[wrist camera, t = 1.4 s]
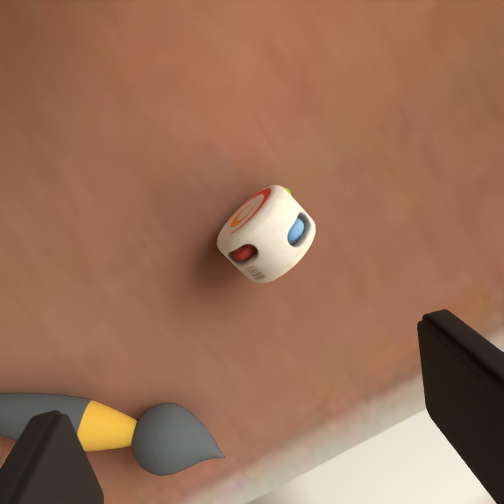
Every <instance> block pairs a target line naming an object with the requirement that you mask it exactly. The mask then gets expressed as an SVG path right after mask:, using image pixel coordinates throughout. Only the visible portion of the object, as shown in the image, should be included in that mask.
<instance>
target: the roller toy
mask: <svg viewBox="0 0 504 504" xmlns="http://www.w3.org/2000/svg"><path fill="white" fill-rule="evenodd" d="M314 236H315V223H314V221H313V220H312V219H311V217H310V216H309V215H308V214H307V213H306V212H305V211H304V210H303V208H302V207H301V206H300V205H299V204H298V203H297V202H296V201H295V200H294V199H293V197H292V196H291V193H290V191H289V190H288V189H287V188H283V187H281V186H279V185H271V186H268V187H266V188H264V189H262V190H260V191H259V192H257V193H256V194H255V195H253V196H252V197H251V198H249V199H248V200H247V201H246V202H245V203H244V204H243V205H242V206H241V207H239V208H238V209H237V211H236V212H235V213H234V214H233V215H232V216H231V217H230V218H229V220H228V221H227V222H226V224H225V225H224V226H223V228H222V229H221V231H220V233H219V235H218V238H217V246H218V249H219V250H220V251H221V252H222V254H223V255H224V256H225V257H227V258H228V259H229V260H230V261H231V262H232V263H233V264H234V265H235V266H236V267H237V268H238V269H239V270H240V271H241V272H242V273H243V274H244V275H246V276H247V277H248V278H249V279H250V280H251V281H253V282H256V283H267V282H270V281H273V280H275V279H277V278H278V277H280V276H281V275H283V274H284V273H286V272H287V271H288V270H290V269H291V268H292V267H293V266H294V265H295V264H296V263H297V262H298V261H299V260H300V259H301V258H302V257H303V256H304V254H305V253H306V252H307V250H308V249H309V247H310V245H311V243H312V241H313V239H314Z"/></svg>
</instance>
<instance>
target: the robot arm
mask: <svg viewBox="0 0 504 504" xmlns="http://www.w3.org/2000/svg"><path fill="white" fill-rule="evenodd" d="M417 330H418V339H419V348H420V357H421V366H422V376H423V385H424V394H425V403H426V408H427V411H428V413H429V415H430V417H431V419H432V420H433V421H434V423H435V424H436V425H437V427H438V428H439V429H440V430H441V432H442V433H443V434H444V436H445V437H446V438H447V440H448V441H449V442H450V443H451V445H452V446H453V447H454V449H455V450H456V451H457V452H458V454H459V455H460V456H461V458H462V459H463V460H464V461H465V463H466V464H467V466H468V467H469V468H470V469H471V471H472V472H473V473H474V475H475V476H476V477H477V479H478V480H479V481H480V482H481V484H482V485H483V486H484V488H485V489H486V490H487V492H488V493H489V494H490V495H491V497H492V498H493V499H494V501H495V502H496V503H497V504H504V352H502V351H501V350H499V349H498V348H497V347H496V346H494V345H493V344H492V343H490V342H489V341H488V340H486V339H485V338H484V337H482V336H481V335H480V334H478V333H477V332H476V331H475V330H473V329H472V328H471V327H469V326H468V325H467V324H465V323H464V322H463V321H461V320H460V319H459V318H457V317H456V316H455V315H454V314H452V313H451V312H450V311H448V310H446V309H444V310H440V311H436V312H432V313H428V314H424V315H423V318H422V321H420V322H418V324H417ZM0 504H104V496H103V492H102V489H101V487H100V485H99V482H98V480H97V478H96V476H95V473H94V471H93V469H92V467H91V464H90V462H89V460H88V458H87V456H86V453H85V451H84V449H83V447H82V444H81V442H80V440H79V438H78V435H77V433H76V431H75V429H74V427H73V424H72V422H71V420H70V418H69V416H68V415H67V414H62V413H61V412H60V411H59V410H53V411H50V412H46V413H42V414H38V415H35V416H33V417H32V418H31V419H30V420H29V422H28V424H27V425H26V427H25V429H24V430H23V432H22V434H21V435H20V437H19V439H18V440H17V442H16V444H15V445H14V447H13V449H12V450H11V452H10V454H9V455H8V457H7V459H6V460H5V462H4V464H3V466H2V467H1V469H0Z"/></svg>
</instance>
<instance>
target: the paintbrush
mask: <svg viewBox="0 0 504 504" xmlns="http://www.w3.org/2000/svg"><path fill="white" fill-rule="evenodd" d="M53 410H59V411H60V412H61V413H62V414H67V415H68V416H69V418H70V420H71V422H72V424H73V427H74V429H75V431H76V433H77V435H78V438H79V440H80V442H81V444H82V447H83V449H84V451H85V452H87V451H98V450H107V449H114V448H121V447H127V446H131V445H132V451H133V454H134V456H135V459H136V460H137V462H138V463H139V465H140V466H141V467H142V468H143V469H145V470H146V471H147V472H149V473H151V474H154V475H159V476H165V475H171V474H174V473H177V472H180V471H182V470H185V469H187V468H189V467H191V466H193V465H195V464H197V463H200V462H202V461H205V460H209V459H215V458H225V456H224V455H223V454H222V452H221V450H220V448H219V447H218V445H217V443H216V441H215V439H214V438H213V436H212V434H211V433H210V432H209V430H208V429H207V428H206V426H205V425H204V424H203V423H202V422H201V421H200V420H199V419H198V418H197V417H196V416H195V415H194V414H192V413H191V412H190V411H188V410H187V409H186V408H184V407H182V406H180V405H178V404H174V403H164V404H159V405H156V406H154V407H152V408H151V409H149V410H148V411H146V412H145V413H144V414H143V415H142V416H141V417H140V418H139V420H138V421H137V420H135V419H133V418H131V417H129V416H127V415H125V414H123V413H121V412H119V411H117V410H115V409H112V408H110V407H108V406H106V405H103V404H101V403H98V402H96V401H93V400H89V399H84V398H79V397H72V396H65V395H55V394H41V393H5V394H0V435H1V436H4V437H7V438H10V439H13V440H18V439H19V437H20V435H21V434H22V432H23V430H24V429H25V427H26V425H27V424H28V422H29V420H30V419H31V418H32V417H33V416H35V415H38V414H42V413H46V412H50V411H53Z"/></svg>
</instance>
